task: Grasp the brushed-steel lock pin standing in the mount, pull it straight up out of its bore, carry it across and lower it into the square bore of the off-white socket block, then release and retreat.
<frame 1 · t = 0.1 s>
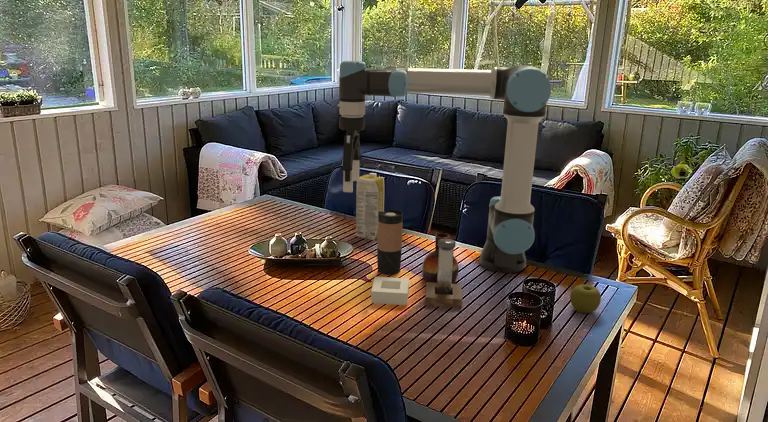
hand: (351, 186, 170), 28 cm above the table, fingers open, 13 cm apart
socket: (390, 299, 160), on the table
apple: (583, 311, 156), on the table
juice carton: (369, 236, 210), on the table
pin: (443, 298, 159), point 1 cm above the table, touching mount
mount: (443, 301, 159), on the table
travel mug: (388, 273, 178), on the table
vase: (439, 283, 172), on the table
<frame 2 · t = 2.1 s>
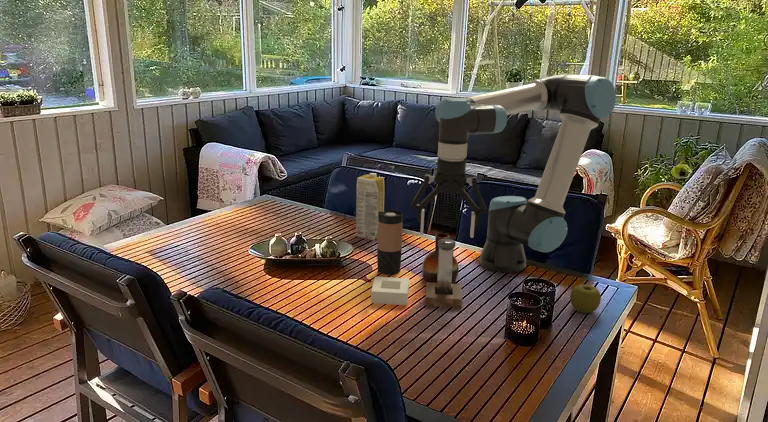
hand: (446, 234, 153), 20 cm above the table, fingers open, 13 cm apart
nothing on the table moved.
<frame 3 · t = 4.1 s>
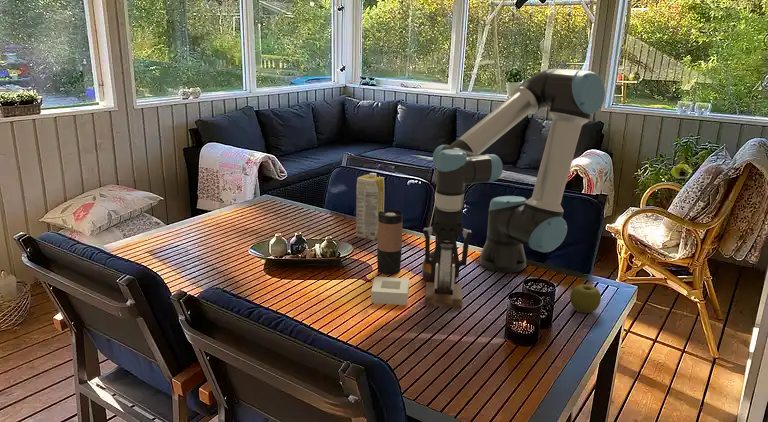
hand: (444, 286, 158), 5 cm above the table, fingers closed on pin, 4 cm apart
pin: (443, 298, 159), point 1 cm above the table, touching gripper, mount
everything else where it was.
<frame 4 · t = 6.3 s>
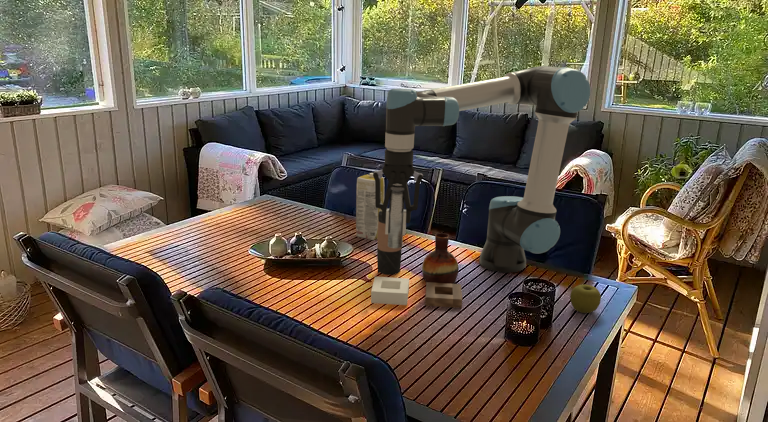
hand: (395, 233, 154), 20 cm above the table, fingers closed on pin, 4 cm apart
pin: (394, 245, 155), point 16 cm above the table, touching gripper
everything else where it was.
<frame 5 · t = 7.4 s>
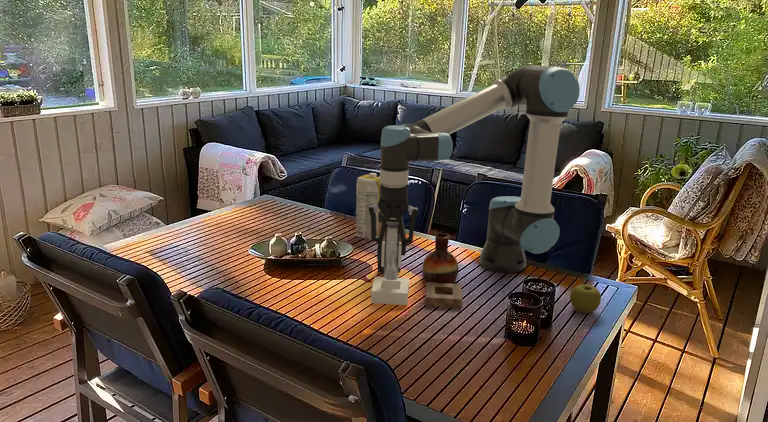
hand: (391, 265, 157), 10 cm above the table, fingers closed on pin, 4 cm apart
pin: (390, 277, 158), point 7 cm above the table, touching gripper
everything else where it was.
when the fingers open (6 cm above the table, at t = 8.5 s): pin stays where it is, resting on socket.
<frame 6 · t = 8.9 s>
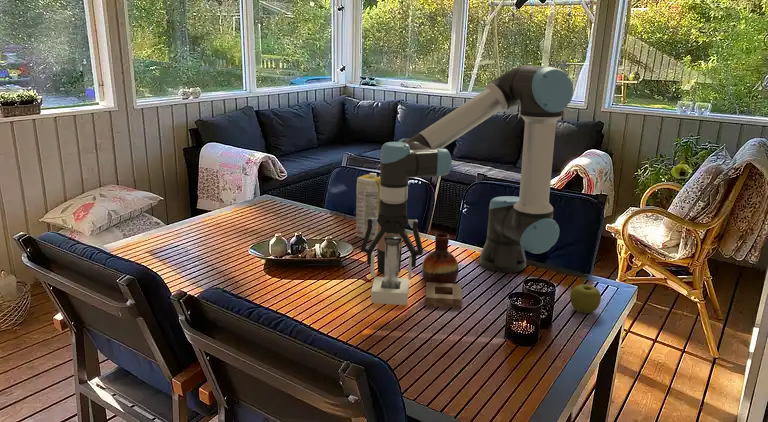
hand: (391, 276, 158), 7 cm above the table, fingers open, 10 cm apart
pin: (390, 294, 160), point 2 cm above the table, touching socket
everything else where it was.
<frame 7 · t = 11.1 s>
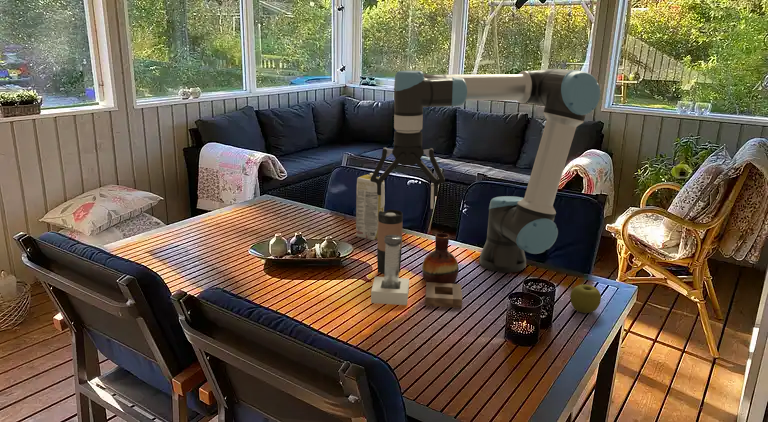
hand: (407, 206, 156), 27 cm above the table, fingers open, 13 cm apart
nothing on the table moved.
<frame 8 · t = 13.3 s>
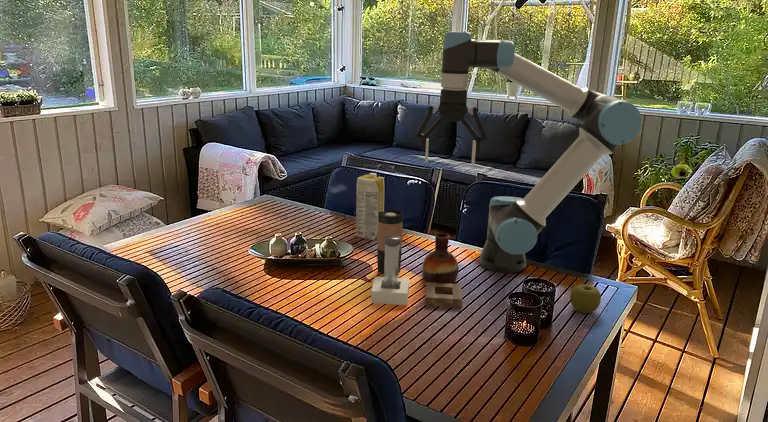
hand: (449, 162, 165), 37 cm above the table, fingers open, 13 cm apart
nothing on the table moved.
at the end: pin 0.0 cm off-centre on the socket, point 1.5 cm above the socket's base; pin tilted 1°; the gripper is holding nothing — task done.
